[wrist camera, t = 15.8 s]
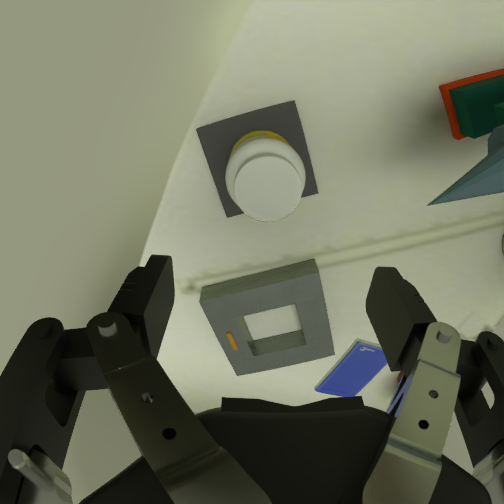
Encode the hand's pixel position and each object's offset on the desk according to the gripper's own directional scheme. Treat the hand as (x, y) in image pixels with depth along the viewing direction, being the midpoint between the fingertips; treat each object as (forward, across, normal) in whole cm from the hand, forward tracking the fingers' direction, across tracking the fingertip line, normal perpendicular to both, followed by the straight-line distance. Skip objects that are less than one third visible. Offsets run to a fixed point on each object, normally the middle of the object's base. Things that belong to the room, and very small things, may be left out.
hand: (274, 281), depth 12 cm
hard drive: (+23, -18, +31) cm, 43 cm away
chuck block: (+22, -3, +20) cm, 30 cm away
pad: (+22, 0, 0) cm, 22 cm away
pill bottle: (+22, 0, 0) cm, 22 cm away
